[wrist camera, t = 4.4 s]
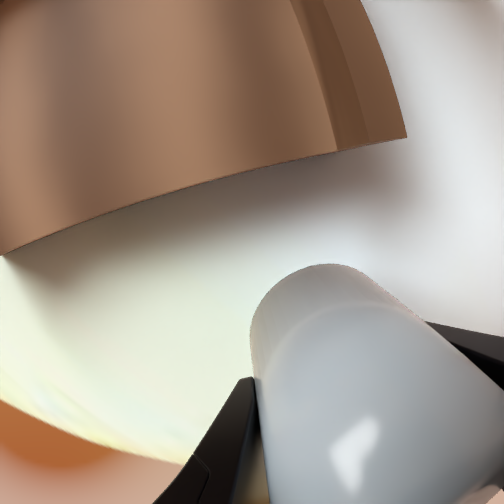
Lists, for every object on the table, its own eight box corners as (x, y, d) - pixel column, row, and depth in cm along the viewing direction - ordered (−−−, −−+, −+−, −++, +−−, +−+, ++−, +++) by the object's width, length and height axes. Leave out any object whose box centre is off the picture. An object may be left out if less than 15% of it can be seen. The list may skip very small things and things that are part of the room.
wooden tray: (258, -69, 9) (268, -133, 3) (339, 151, 12) (407, 137, 7) (-20, 46, 9) (-72, 26, 3) (1, 255, 12) (-66, 287, 7)
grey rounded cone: (379, 246, 10) (574, 363, 2) (387, 364, 11) (490, 506, 3) (232, 286, 10) (238, 535, 2) (267, 401, 11) (299, 586, 3)
